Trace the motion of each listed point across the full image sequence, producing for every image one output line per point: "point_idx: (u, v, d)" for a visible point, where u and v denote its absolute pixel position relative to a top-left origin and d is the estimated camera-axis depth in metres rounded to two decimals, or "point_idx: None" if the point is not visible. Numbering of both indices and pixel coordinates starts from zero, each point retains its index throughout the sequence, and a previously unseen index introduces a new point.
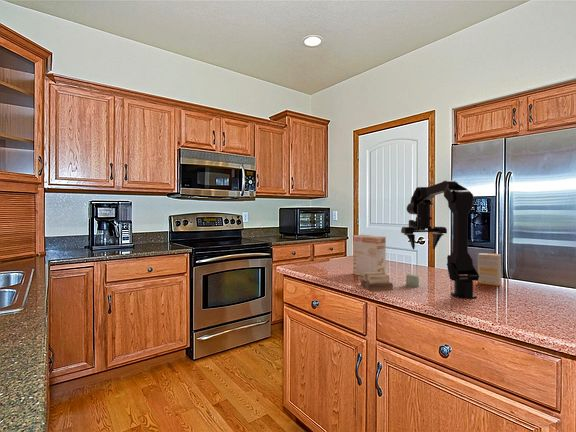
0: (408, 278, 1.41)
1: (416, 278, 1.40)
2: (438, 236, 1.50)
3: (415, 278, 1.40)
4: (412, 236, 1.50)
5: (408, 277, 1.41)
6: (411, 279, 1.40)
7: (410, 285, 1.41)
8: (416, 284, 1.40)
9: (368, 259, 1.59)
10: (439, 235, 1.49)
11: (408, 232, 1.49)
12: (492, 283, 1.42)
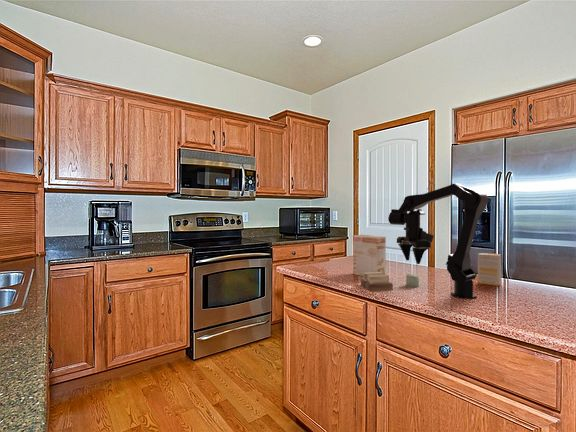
0: (408, 278, 1.41)
1: (416, 278, 1.40)
2: (413, 250, 1.36)
3: (415, 278, 1.40)
4: (400, 246, 1.48)
5: (408, 277, 1.41)
6: (411, 279, 1.40)
7: (410, 285, 1.41)
8: (416, 284, 1.40)
9: (368, 259, 1.59)
10: (413, 248, 1.36)
11: (397, 241, 1.49)
12: (492, 283, 1.42)
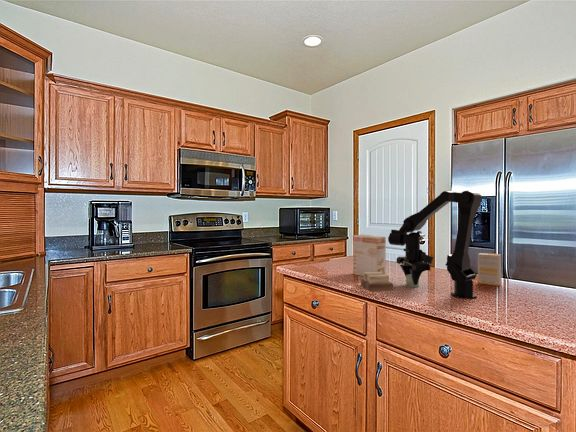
0: (408, 278, 1.41)
1: None
2: (410, 271, 1.39)
3: None
4: (401, 267, 1.46)
5: (408, 277, 1.41)
6: (411, 279, 1.40)
7: (410, 285, 1.41)
8: None
9: (368, 259, 1.59)
10: (410, 270, 1.38)
11: (397, 261, 1.50)
12: (492, 283, 1.42)
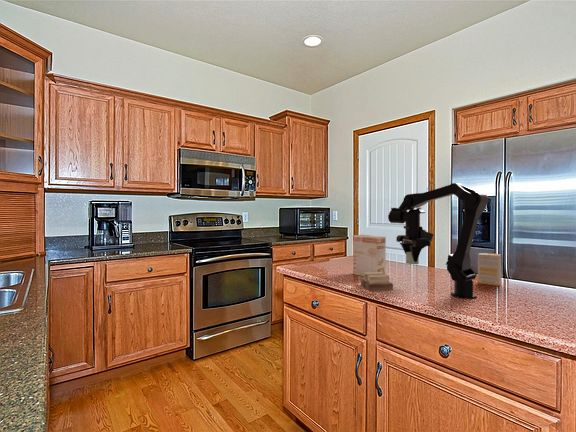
0: (408, 255, 1.41)
1: None
2: (410, 248, 1.38)
3: None
4: (401, 245, 1.46)
5: (408, 254, 1.41)
6: (411, 256, 1.40)
7: (410, 262, 1.40)
8: None
9: (368, 259, 1.59)
10: (410, 246, 1.38)
11: (397, 240, 1.50)
12: (492, 283, 1.42)
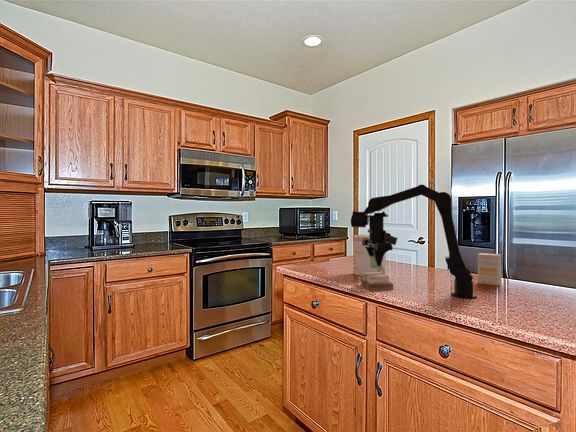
0: (372, 259, 1.39)
1: None
2: (373, 252, 1.36)
3: None
4: (366, 249, 1.44)
5: (372, 258, 1.39)
6: (374, 260, 1.38)
7: (373, 266, 1.39)
8: None
9: (368, 259, 1.59)
10: (373, 251, 1.36)
11: (362, 244, 1.48)
12: (492, 283, 1.42)
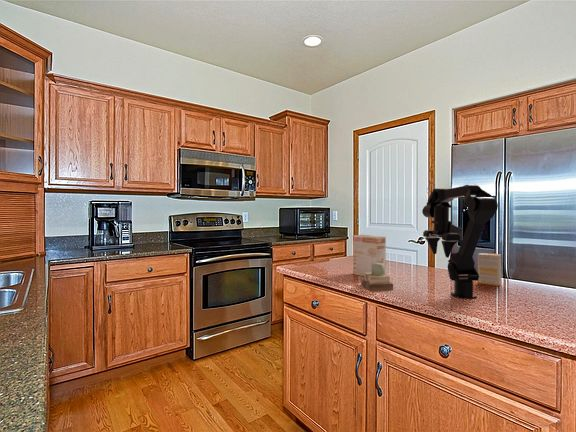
0: (373, 266, 1.39)
1: (381, 266, 1.38)
2: (442, 243, 1.35)
3: (380, 266, 1.38)
4: (427, 239, 1.46)
5: (373, 265, 1.39)
6: (376, 267, 1.38)
7: (374, 273, 1.38)
8: (381, 272, 1.38)
9: (368, 259, 1.59)
10: (442, 242, 1.34)
11: (424, 235, 1.48)
12: (492, 283, 1.42)
